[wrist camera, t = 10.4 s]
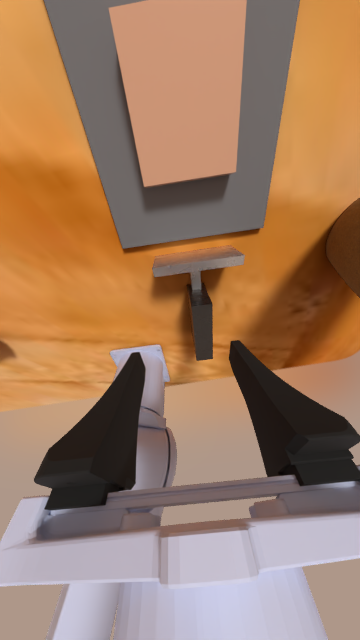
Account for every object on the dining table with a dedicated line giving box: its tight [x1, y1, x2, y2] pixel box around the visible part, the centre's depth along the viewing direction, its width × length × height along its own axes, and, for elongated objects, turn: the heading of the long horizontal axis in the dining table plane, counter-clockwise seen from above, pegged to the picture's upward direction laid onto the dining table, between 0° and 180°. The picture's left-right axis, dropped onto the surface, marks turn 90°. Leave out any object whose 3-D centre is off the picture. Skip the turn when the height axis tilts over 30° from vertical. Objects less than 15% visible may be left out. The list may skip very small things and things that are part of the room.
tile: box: [109, 0, 247, 188], centre depth 11 cm, size 2×7×7 cm
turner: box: [152, 245, 245, 361], centre depth 19 cm, size 12×8×5 cm
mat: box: [44, 0, 300, 249], centre depth 11 cm, size 18×14×1 cm
